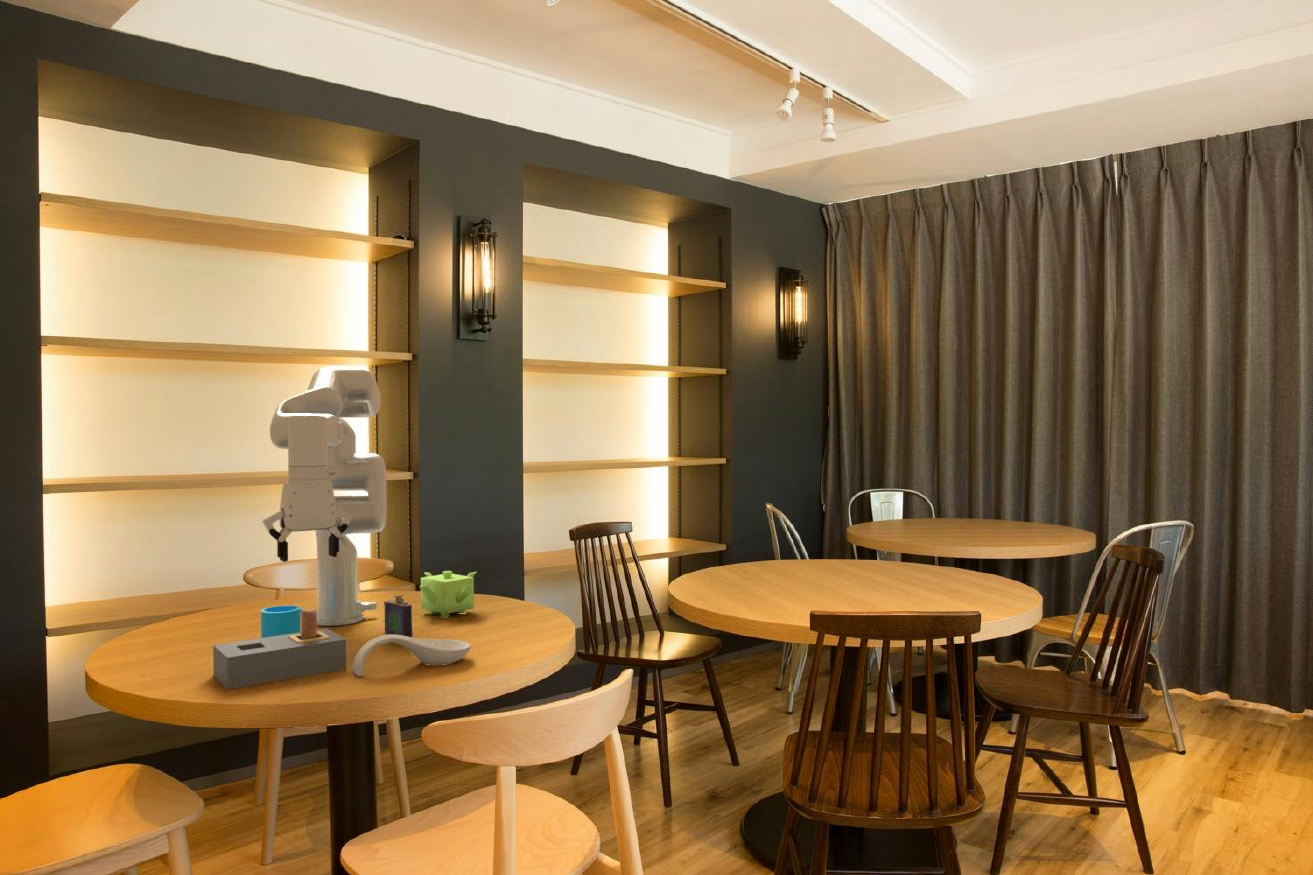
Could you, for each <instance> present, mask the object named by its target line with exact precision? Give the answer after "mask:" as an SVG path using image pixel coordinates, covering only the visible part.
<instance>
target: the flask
mask: <svg viewBox="0 0 1313 875" xmlns="http://www.w3.org/2000/svg"><path fill="white" fill-rule="evenodd" d="M402 597H404V594H399V595H394V598H395V600H386V601H384V602H383V603H384V604H383V605H384V606H383V607H384V635H389V634H394V635H402V636H407V637H412V638H413V622H412V621H413V620H412V617H413V614H412V612H413V611H412V609H413V606H412V604H411V603H409V602H408V601H405V600H404V598H402Z"/></svg>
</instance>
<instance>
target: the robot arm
mask: <svg viewBox="0 0 1313 875" xmlns="http://www.w3.org/2000/svg"><path fill="white" fill-rule="evenodd" d="M377 383H378V382H377V381H376V378H375V375H374V374H373V373H372V371H370V369H368V368H365V367H360V366H359V367H356V366H355V367H354V366H353V367H352V366H328V367H327V366H326V367H322V368H319V369H318V370H317V371H315V372H314V373H313V375H312V377H311V379H310V382H309V384H308V387H307V390H306V391H305V392H302V393H299V394H297V395H294V396H292V397H289V398H288V399H285V400H284V401H282V402H280V403H279V405H278V406H277V408H276V409H275V412H274V414H273V416H272V419H271V420H270V421H271V423H270V425H269V436H270V441H271V442H272V444H273V445H274V447H276V448H277V449H281V450H287V451H288V452H287V454H288V456H287V460H288V462H287V465H288V466H287V468H288V469H287V472H288V473H287V476H288V479H287V480H288V481H284V482H283V483H282V484H283V485H282V490H281V497H280V508H279V511H277V512H275V513H273V514H272V515H270V516H268V517H267V518H265V519H263V520H262V525H263V526H264V528H265V529H266V531H267V533H268V534H269V535H270V536H271V537H272V538H273V539H274V540H276V542H277V543H276V544H277V548H276V549H277V551H276V553H277V554H276V555H277V557H278V559H279V560H280V561H281V562H283V563H286V562H288V561H289V542H288V541H287V538H289V536H290V534H292V532H293V533H294V532H309V531H315V537H316V561H317V562H316V565H317V566H316V572H317V573H316V575H317V576H316V578H317V579H316V580H317V581H316V584H317V587H316V588H317V590H316V592H317V596H316V598H317V601H316V602H317V608H316V610H317V626H320V627H322V626H323V627H334V626H335V627H336V626H338V627H339V626H346V625H351V624H357V623H359V622H362V621H363V620H364V619H365V614H364V612H365V611H374V610H376V609H377V608H378V607H377V603H376V602H377V601H373V602H368V601H367V602H361V601H360V600H358V551H357V548H356V546H355V544H354V543H353V542H352V541H351V540H350V538H349V537H348V536H347V535H352V534H374V533H379V532H382V531H383V530H384V529H385V527H386V522H387V468H386V462H385V459H384V458H383V456H381V455H380V454H377V453H365V452H364V453H357V450H356V446H357V445H356V444H357V435H356V432H355V431H354V429H353V428H352V426H351V425H350V424H349V423H348V421H346V420H345V419H344V418H364V419H365V418H373V417H375V416H377V414H378V413H379V411H380V409H381V404H382V403H381V394H380V389H379V387H378V384H377ZM334 491H338V492H340V491H341V492H342V491H345V492H346V491H364V492H366V493H367V495H335V492H334ZM277 521H279V527H280V528H281V529H280V530H279V531H277V530H276V529H275V527H274V523H276V522H277Z"/></svg>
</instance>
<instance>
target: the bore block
mask: <svg viewBox="0 0 1313 875" xmlns="http://www.w3.org/2000/svg"><path fill="white" fill-rule="evenodd" d="M212 647H213V650H212V651H213V654H212V655H213V656H212V657H213V660H212V661H213V662H212V663H213V668H212V669H213V676H214V678H216V680H217V681H218V682H219V683H221V685H222V686H224V687H225V689H226V690H227V689H229V690H234V689H239V688H246V687H251V686H256V685H261V684H262V685H263V684H268V683H273V682H279V681H284V680H285V681H286V680H290V679H291V680H292V679H296V678H303V677H308V676H314V675H318V674H324V673H325V674H327V673H329V672H330V673H331V671H332V672H336V670H337V671H342V670H341V669H343V670H347V669H346V668H347V667H348V666H347V639H346V637H342V636H341V635H340V634H338V633H336V632H334V631H332V630H330V629H329V628H323V629H317V638H312V639H306V640H301V632H300V633H293V634H286V635H279V636H272V637H265V638H261V637H259V638H254V639H253V638H252V639H244V640H238V641H233V642H225V643H219V644H217V643H216V644H213V645H212Z"/></svg>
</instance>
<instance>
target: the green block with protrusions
mask: <svg viewBox="0 0 1313 875" xmlns="http://www.w3.org/2000/svg"><path fill="white" fill-rule="evenodd" d="M423 573H424V575H425V576H424V577H420V586H419V589H420V609H421V610H425V611H429V612H428V614H436V613H437V614H438V613H439V614H441V615H440V618H441V617H448V618H450V614H453V613H457V614H458V613H464V612H466V611H468V610H472V609H475V601H474V600H475V594H474V593H475V592H474V591H475V583H474V580H475V578H474V576H475V575H476V574H477V571H473V572H469V573H468V574H467V575H462V574H456V573H453V571H451V570H444V571H442V574H437V575H432V574H431V573H430V572H426V571H425V572H423ZM437 614H436V615H437Z"/></svg>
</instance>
